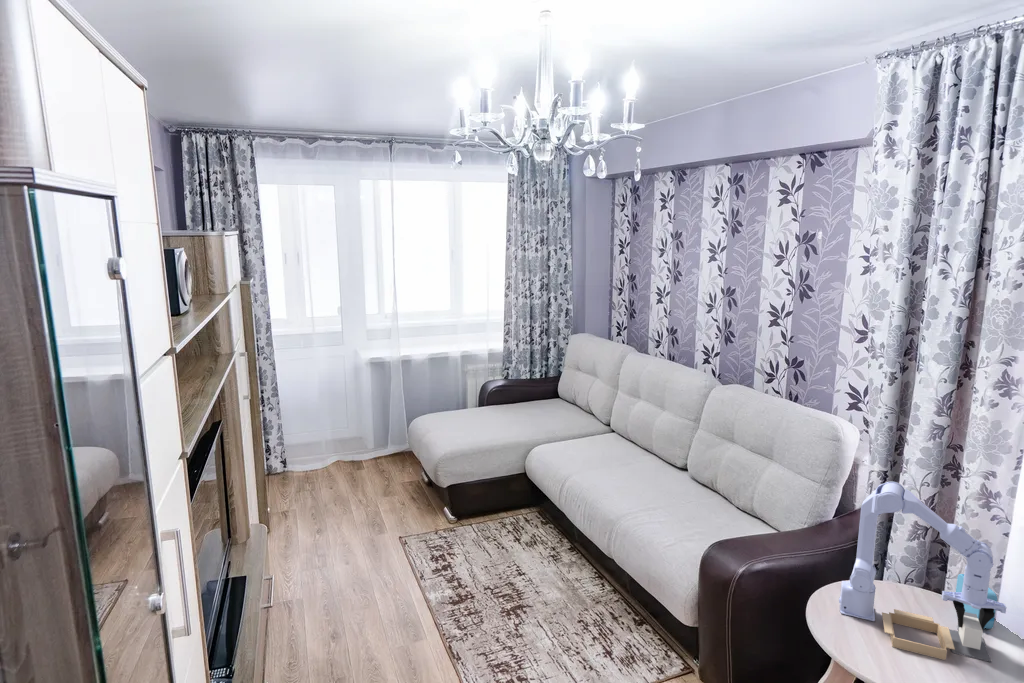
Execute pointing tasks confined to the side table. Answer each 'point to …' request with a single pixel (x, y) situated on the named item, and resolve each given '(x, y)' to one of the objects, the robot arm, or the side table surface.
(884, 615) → the carton
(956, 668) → the side table surface
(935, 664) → the side table surface
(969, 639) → the capped box
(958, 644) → the mat
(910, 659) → the side table surface
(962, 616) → the robot arm
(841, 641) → the side table surface
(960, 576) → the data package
